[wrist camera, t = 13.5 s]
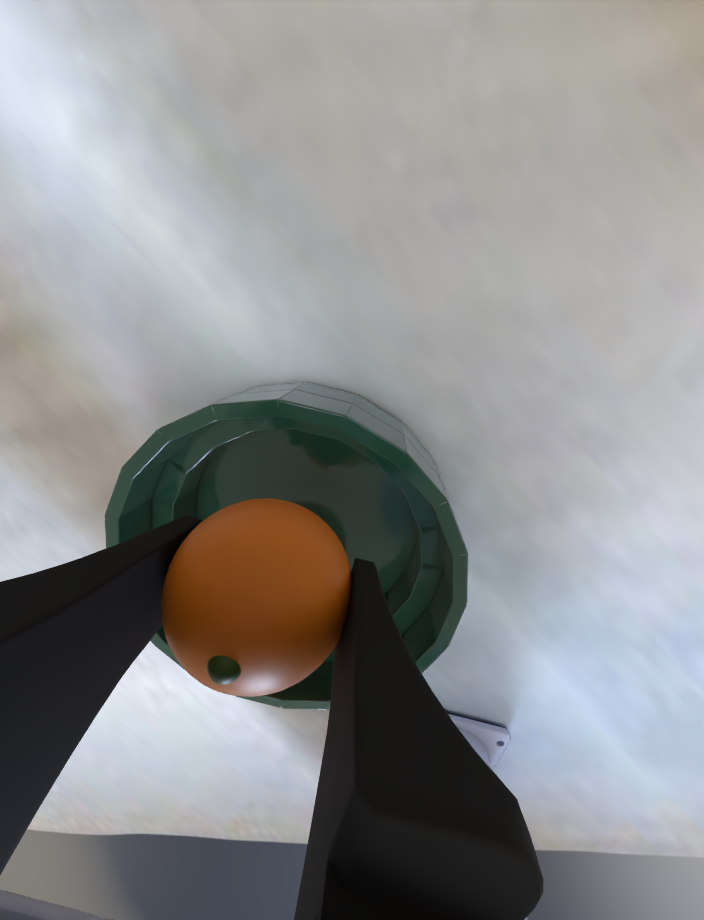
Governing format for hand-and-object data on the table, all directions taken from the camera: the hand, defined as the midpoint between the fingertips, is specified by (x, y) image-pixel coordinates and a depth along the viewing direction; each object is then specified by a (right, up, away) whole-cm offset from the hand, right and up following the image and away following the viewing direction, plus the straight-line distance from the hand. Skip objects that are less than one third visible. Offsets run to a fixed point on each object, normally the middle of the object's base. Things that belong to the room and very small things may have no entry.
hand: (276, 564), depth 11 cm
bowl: (0, 0, +8) cm, 8 cm away
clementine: (0, +1, +1) cm, 1 cm away
